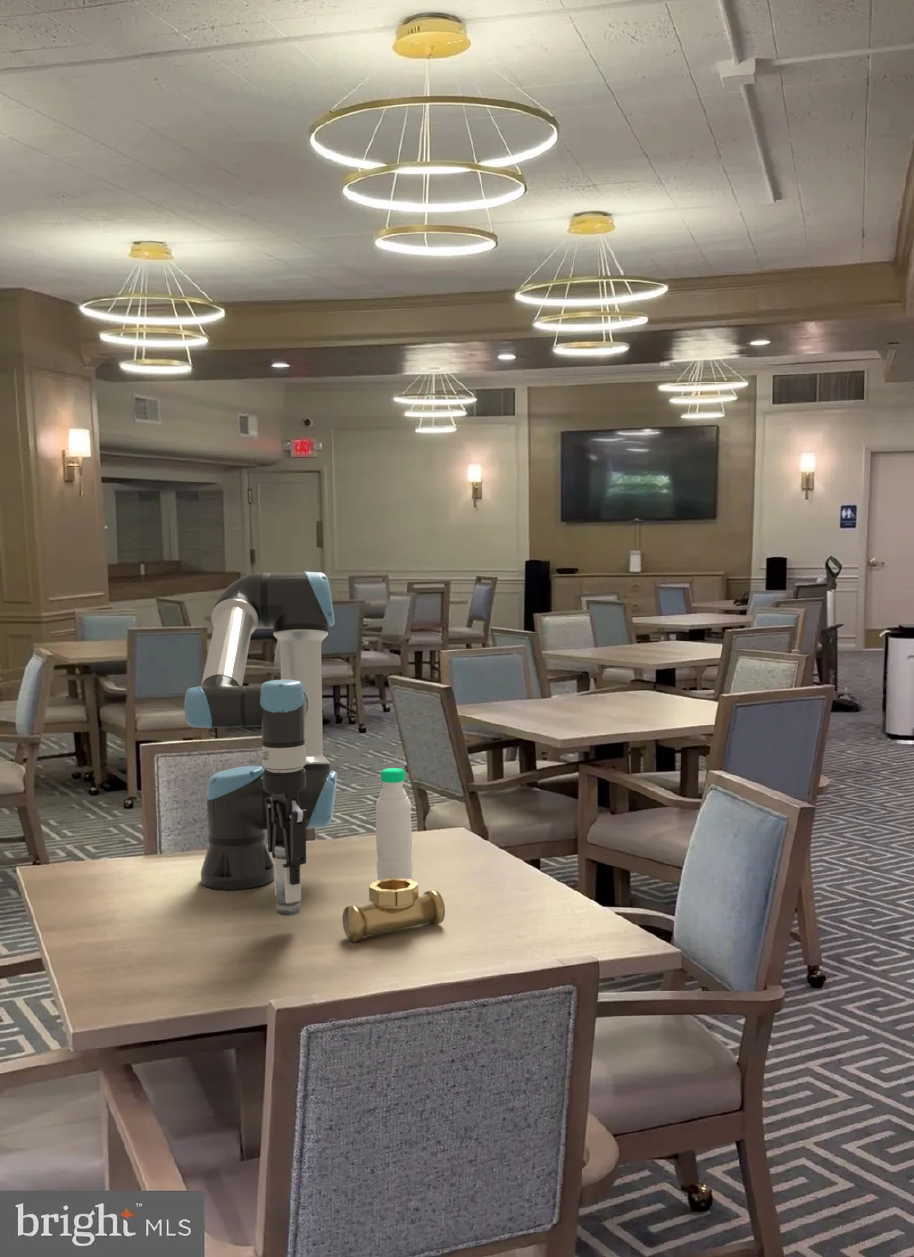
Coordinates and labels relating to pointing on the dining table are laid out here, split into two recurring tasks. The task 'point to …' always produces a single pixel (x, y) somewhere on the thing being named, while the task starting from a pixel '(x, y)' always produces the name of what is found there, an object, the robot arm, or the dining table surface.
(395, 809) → the water bottle
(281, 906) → the metal cylinder
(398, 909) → the tee fitting
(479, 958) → the dining table surface
